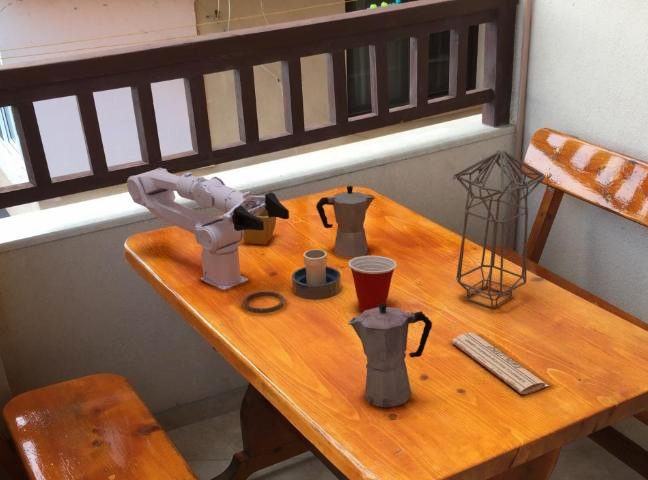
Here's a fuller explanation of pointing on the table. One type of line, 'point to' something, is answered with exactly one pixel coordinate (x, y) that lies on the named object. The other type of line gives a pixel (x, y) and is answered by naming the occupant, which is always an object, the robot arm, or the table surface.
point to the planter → (316, 290)
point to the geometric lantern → (487, 163)
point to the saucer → (263, 310)
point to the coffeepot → (348, 221)
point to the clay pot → (315, 267)
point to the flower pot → (263, 235)
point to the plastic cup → (372, 280)
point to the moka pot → (388, 352)
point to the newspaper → (499, 363)
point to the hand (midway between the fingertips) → (275, 220)
